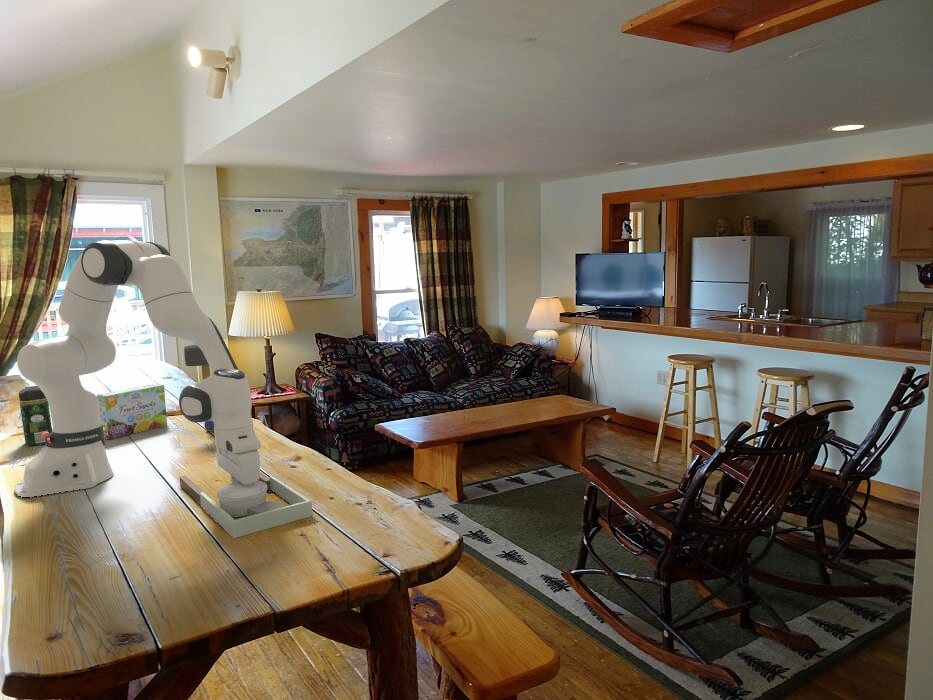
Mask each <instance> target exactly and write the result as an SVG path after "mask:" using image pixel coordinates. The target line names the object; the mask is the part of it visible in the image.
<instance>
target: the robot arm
mask: <svg viewBox="0 0 933 700" xmlns="http://www.w3.org/2000/svg"><path fill="white" fill-rule="evenodd" d="M119 286H122V287H123V286H124V287H125V286H126V287H127V286H129V287H130V286H136V288H138V290H139V291H140V293H141V296H142V299H143V303H144V306H145V309H146V313H147V315H148V318H149V319H150V322H151V323H152V325H153V326H154V328H155V329H156V330H158V331H159V332H160V333H162V334H164V335H166V336H168V337H173V338H177V339H180V340H184V341H187V342H190V343H191V344H192V345H197V346H198V347H199V348H200V349H201V350H202V352H203V354H204V356H205V358H206V360H207V362H208V364H209V367H210V371H211V372H212V373H210V376H209V377H208V378H206V379H204V380H203V379H202V380H200V381H196V382H194V383H191V384H190V385H189V384H188V385H187V386H185V387H184V388H183V389H182V390H181V391H180V393H179V399H178V406H179V410H180V412H181V414H182V416H183V417H184V418H185V419H186V420H188V421H189V422H191V423H205V421H213V422H214V431H213V432H214V433H213V434H214V442H215V447H216V450H215V451H216V462H217V465H218V467H219V468H221V469H222V470H223V471H225V473H228V474H229V476H230V477H229V478H230V481H231V483H234V482H238V481H240V482H241V483H242V484H244V485H248V484H253V483H257V482H258V481H259V478H260V473H261V460H260V452H259V450H260V449H261V447H262V446H261V441H260V439H259V437H258V436H257V434H256V431H255V429H254V421H253V418H252V415H251V412H252V411H251V410H252V406H253V405H252V404H253V403H252V391H251V389H252V388H251V386H250V383H249V380H248V377H247V374H246V373H245V372H244V371H242V370H240V369H239V368H238V366H237V364H236V363H235V360H234V358H233V356H232V354H231V352H230V350H229V348H228V346H227V344H226V342H225V340H224V338H223V336H222V334H221V333H220V330H219V328H218V327H217V325H216V324H215V323H214V320H212V319H211V318H210V317H208V316H207V315H206V314H205V313H204V311H203V310H202V308H200V305H199V304H198V302H197V301H196V298H195V296H194V294H193V290H192V287H191V285H190V283H189V281H188V278H187V276H186V273H185V272H184V270H183V268H182V267H181V265H180V264H179V262H178V260H177V259H176V258H174V257H172V256H171V254H170V252H169V250H168V249H167V248H166V247H165V246H164V245H161V244H158V243H156V242H153V241H140V240H135V239H133V240H132V239H124V240H107V239H106V240H104V239H103V240H98V241H94V242H91V243H90V244H88V245H86V246H85V248H84V250H83V251H82V252H81V254H80V255H79V257H78V258H77V259H76V261H75V263H74V265H73V267H72V269H71V271H70V274H69V275H68V279H67V281H66V284H65V287H64V290H63V294H62V297H61V300H60V303H59V305H58V314H59V316H60V318H61V320H62V321H63V322H64V323H66V324H67V325H68V330H67V332H66V333H65V334H64V335H61V336H57V337H56V336H55V337H49V338H42V339H39V340H35V341H34V342H31V343H28V344H26V345H24V346H23V347H22V348H21V349H20V350H19V352H18V353H17V358H16V359H17V361H16V365H17V368H18V371H19V372H20V374H21V376H23V377H24V379H26V380H28V381H30V382H31V383H33V384H35V386H38V387H39V388H40V389H41V390H42V392H43V393H44V395H45V396H46V398H47V401H48V403H49V410H50V418H51V425H52V432H51V433H49V432H43V434H42V436H41V437H42V439H43V440H45V443H44V444H45V448H43V449H42V450H41V451H40V452H39V453H38V454H37V455H36V456H34V457H33V458H31V460H29V461H28V462H27V463H26V466H25V468H24V471H23V480H21V481H20V482H18V483H17V484H16V485H15V486H14V494H15V493H16V494H17V495H19V496H21V497H20V498H22V497H30V498H35V497H34V496H37V497H40V496H41V495H43V496H48V495H47V494H49V495H54V493H55V494H60V493H59V492H61V493H66V492H65V491H68V492H71V491H72V492H73V490H74V491H78V490H79V489H80V490H85V489H90V488H91V489H92V488H93V487H94V488H95V486H97V485H98V484H100V483H103V482H104V481H107V480H108V479H110V478H112V477H113V476H114V471H113V469H112V466H111V464H110V461H109V459H108V456H107V451H106V448H105V445H106V439H105V433H104V428H103V425H102V424H101V419H100V410H99V401H98V398H97V394H95V393H93V392H91V391H89V390H86V389H85V387H84V386H83V385H82V382H81V380H80V376H83V375H87V374H93V373H97V372H99V371H101V370H104V369H105V368H107V367H109V366H111V365H112V364H113V362H114V361H115V359H116V356H117V349H116V345H115V343H114V342H113V340H112V339H111V338H110V336H108V334H107V332H108V331H107V324H108V320H109V316H110V312H111V309H112V306H113V303H114V299H115V296H116V294H117V289H118V287H119ZM16 494H15V495H16ZM17 495H16V496H17Z"/></svg>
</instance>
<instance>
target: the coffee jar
mask: <svg viewBox="0 0 933 700" xmlns="http://www.w3.org/2000/svg"><path fill="white" fill-rule="evenodd" d="M18 399H19V409H20V416H21V422H22V428H23V436H24V437H23V438H24V442H25V444H26V445H27V446H41V445H40V444H42V445H44V444H46V443H45V440H43V439H42V437H41V436H42V434H43V432H49V433H51V432H52V431H53V424H52V418H51V412H50V407H49V403H48V401H47V398H46V396H45V395H44V393H43V392H42V390H41V389H40V388H39V387H38V386H37V385H33V386H31V385H30V386H25V387H24V388H22V389H21V390H19V392H18Z"/></svg>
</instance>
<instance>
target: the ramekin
mask: <svg viewBox="0 0 933 700" xmlns="http://www.w3.org/2000/svg"><path fill="white" fill-rule="evenodd" d="M267 492H268V491H267V484H266V483H264V482H262V481H258V482H257V483H253V484H248V485H244V484H242V483H241V482H240V481H238V482H234V483H232V482H231V483H227V484H225V485H221V486H220V487H219V488H218V489H217V491H216V498H217V499H218V503H219V506H220V507H221V508H222V509H223V510H224V511H225V512H226V513H228V514H229V515H230V516H231V517H232V518H244V517H248V510H247V509H249V508H251V507H254V506H257V505H259V504H261V503H264V502H266V501H267Z"/></svg>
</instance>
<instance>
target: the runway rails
mask: <svg viewBox="0 0 933 700" xmlns="http://www.w3.org/2000/svg"><path fill="white" fill-rule="evenodd" d="M259 481H262V482H264V483H266V484H267V490H269V491H271V490H270V478H269V477H268V476H266V475H264V474H263V473H261V472H260V478H259ZM179 485H180V486H179V487H181V488H182V489H183V490H184V489H185V490H186V491H187V492H188V493H189V494H190V495H191V496H192V497H193V498H194V499H195V502H196V503H198V502H199V503H200V504H201V501H200V493H202V492H204V493H205V494H206V495H207V496H208V497H209V495H208V494H207V493H206V492H205V491H204V490H203V489H202V488H200V487H199V486H198V485H197V484H196V483H195V482H194V481H193V480H192V479H190V478H189V477H188V476H187V475H183V476H182V475H181V476H179ZM185 490H184V491H185ZM186 491H185V492H186ZM187 492H186V493H187ZM188 493H187V494H188ZM189 494H188V495H189ZM190 495H189V496H190ZM191 496H190V497H191ZM192 497H191V498H192ZM193 498H192V499H193ZM199 503H198V504H199ZM200 504H199V505H200Z"/></svg>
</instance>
